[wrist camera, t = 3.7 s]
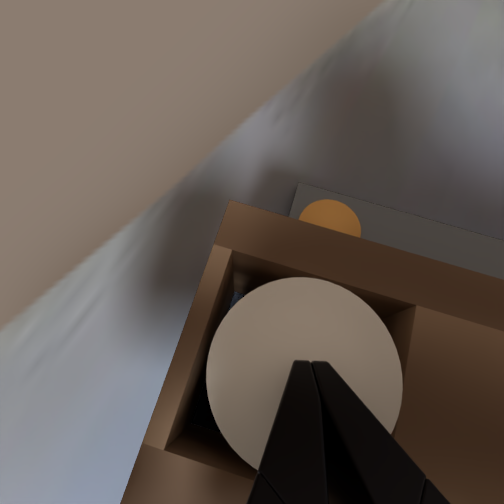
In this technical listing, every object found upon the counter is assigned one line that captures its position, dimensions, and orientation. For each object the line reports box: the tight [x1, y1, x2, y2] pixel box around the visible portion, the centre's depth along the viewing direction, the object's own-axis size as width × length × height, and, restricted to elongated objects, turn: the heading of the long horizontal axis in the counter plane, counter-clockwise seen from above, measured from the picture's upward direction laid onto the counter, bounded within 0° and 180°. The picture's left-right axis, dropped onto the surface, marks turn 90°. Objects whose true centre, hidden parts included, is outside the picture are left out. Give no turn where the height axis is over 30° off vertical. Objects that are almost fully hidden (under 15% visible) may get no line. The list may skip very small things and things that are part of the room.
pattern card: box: [289, 182, 504, 280], centre depth 18 cm, size 4×17×1 cm, turn 73°
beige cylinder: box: [206, 277, 403, 470], centre depth 12 cm, size 5×5×6 cm
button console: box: [120, 200, 504, 504], centre depth 13 cm, size 9×21×6 cm, turn 73°
